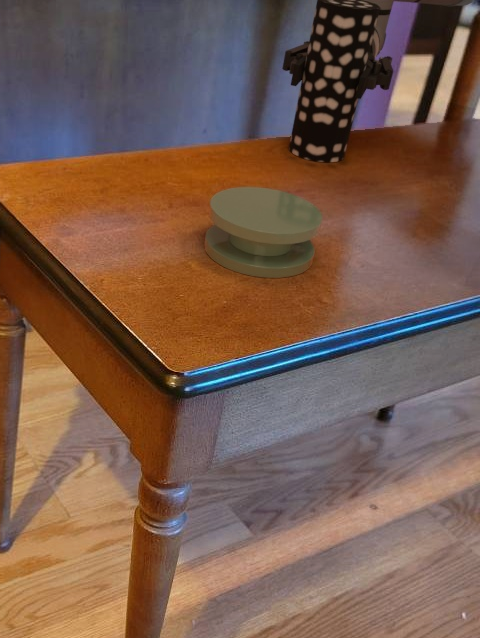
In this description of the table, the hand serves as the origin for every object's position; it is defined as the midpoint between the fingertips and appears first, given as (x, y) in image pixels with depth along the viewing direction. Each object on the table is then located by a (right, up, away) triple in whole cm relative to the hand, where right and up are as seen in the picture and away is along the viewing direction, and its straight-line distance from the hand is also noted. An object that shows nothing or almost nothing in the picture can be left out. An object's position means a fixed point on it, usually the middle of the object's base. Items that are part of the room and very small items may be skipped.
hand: (327, 81), depth 100 cm
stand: (-11, -27, -19) cm, 35 cm away
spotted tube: (0, -6, +10) cm, 12 cm away
